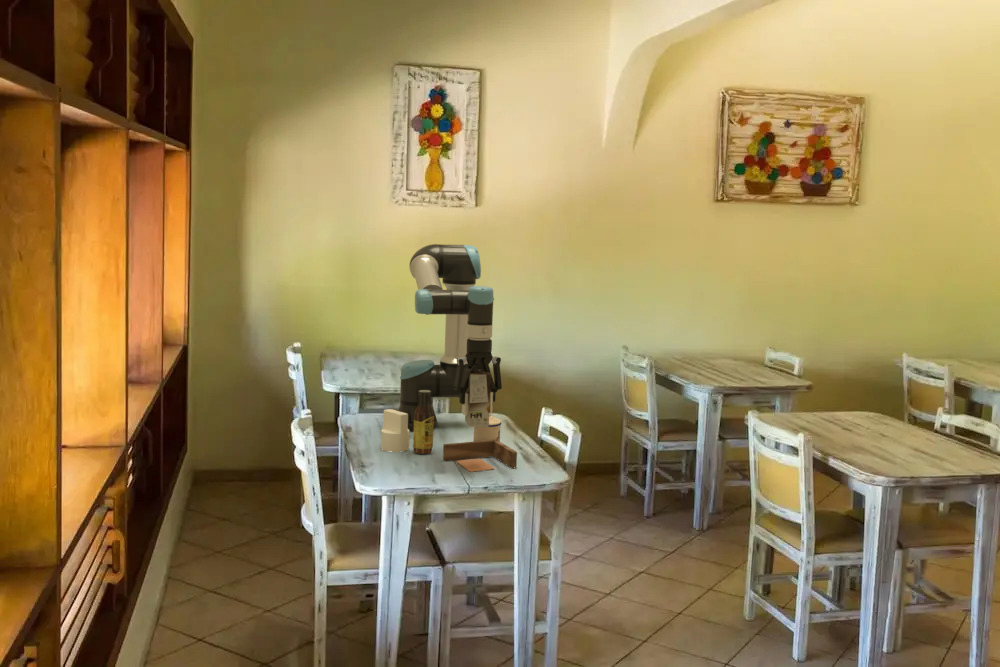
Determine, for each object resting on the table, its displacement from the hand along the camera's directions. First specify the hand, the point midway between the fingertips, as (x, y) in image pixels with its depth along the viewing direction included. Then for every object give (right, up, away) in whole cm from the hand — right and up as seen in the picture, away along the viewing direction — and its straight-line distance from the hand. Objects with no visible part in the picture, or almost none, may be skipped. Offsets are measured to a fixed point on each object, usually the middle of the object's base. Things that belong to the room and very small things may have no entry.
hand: (477, 413), depth 267 cm
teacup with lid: (+2, -13, +25) cm, 28 cm away
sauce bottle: (-18, -14, +15) cm, 27 cm away
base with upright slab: (-27, -13, +19) cm, 35 cm away
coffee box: (0, -3, 0) cm, 3 cm away
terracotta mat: (-1, -16, +2) cm, 16 cm away
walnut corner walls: (+1, -16, +5) cm, 17 cm away
